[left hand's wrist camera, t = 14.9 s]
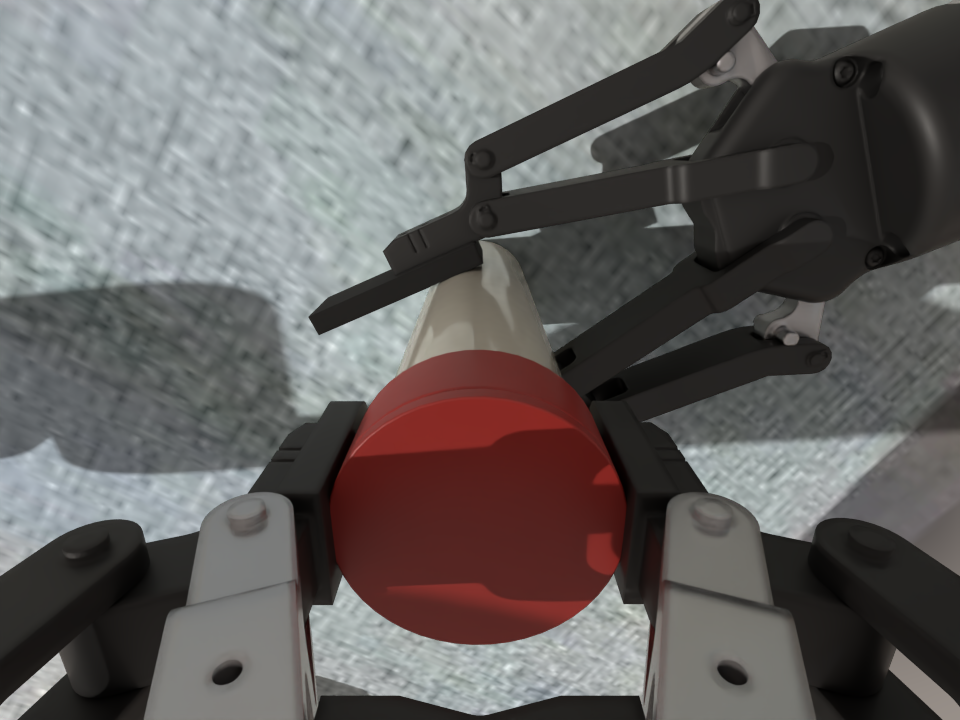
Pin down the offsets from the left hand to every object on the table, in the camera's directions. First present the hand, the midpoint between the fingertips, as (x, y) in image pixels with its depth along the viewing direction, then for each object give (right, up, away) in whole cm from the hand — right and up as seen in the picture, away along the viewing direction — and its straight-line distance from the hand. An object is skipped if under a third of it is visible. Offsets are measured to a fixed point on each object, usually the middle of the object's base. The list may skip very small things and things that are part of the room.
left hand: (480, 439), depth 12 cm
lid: (0, -1, -3) cm, 3 cm away
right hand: (-5, +1, +9) cm, 11 cm away
